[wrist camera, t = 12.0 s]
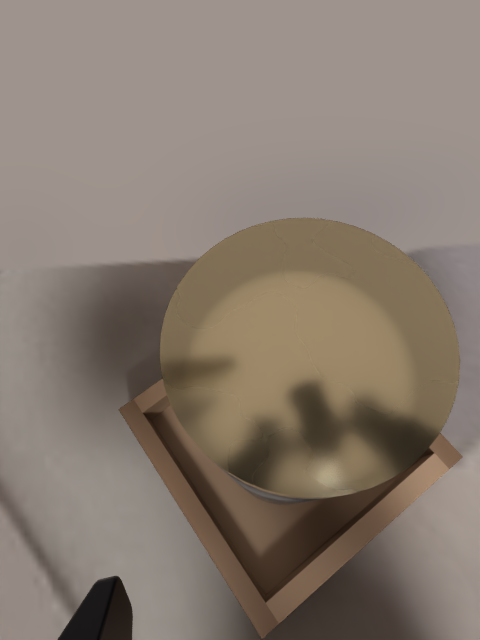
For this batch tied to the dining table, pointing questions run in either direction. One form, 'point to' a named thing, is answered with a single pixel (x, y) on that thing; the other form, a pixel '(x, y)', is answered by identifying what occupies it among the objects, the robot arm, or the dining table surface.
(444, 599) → the dining table surface
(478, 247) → the dining table surface
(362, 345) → the tea tin
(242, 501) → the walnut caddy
